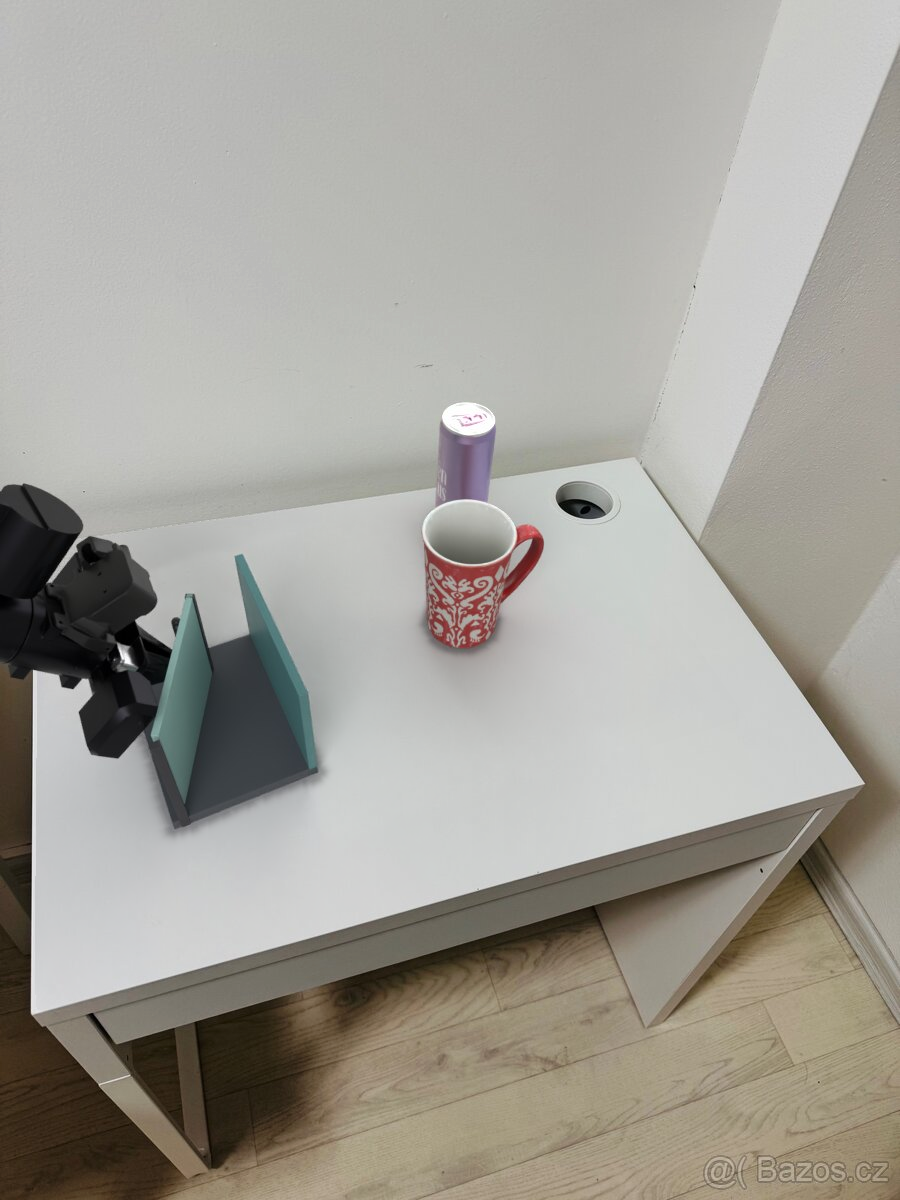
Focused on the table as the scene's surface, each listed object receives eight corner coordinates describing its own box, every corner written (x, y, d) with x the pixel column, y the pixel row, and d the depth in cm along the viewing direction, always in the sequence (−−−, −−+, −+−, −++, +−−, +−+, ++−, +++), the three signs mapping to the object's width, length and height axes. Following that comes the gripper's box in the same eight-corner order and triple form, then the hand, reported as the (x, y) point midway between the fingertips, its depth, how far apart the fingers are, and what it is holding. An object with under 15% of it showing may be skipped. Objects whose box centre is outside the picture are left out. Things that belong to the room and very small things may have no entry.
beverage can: (492, 533, 98) (506, 429, 86) (445, 545, 96) (452, 440, 85) (473, 501, 101) (483, 396, 90) (427, 511, 100) (431, 406, 88)
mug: (433, 665, 85) (440, 574, 74) (406, 601, 90) (409, 508, 80) (547, 637, 88) (568, 546, 78) (514, 576, 93) (530, 484, 83)
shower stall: (175, 830, 71) (142, 754, 62) (129, 682, 81) (95, 596, 72) (318, 773, 76) (308, 694, 66) (258, 638, 86) (242, 553, 76)
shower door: (158, 804, 72) (128, 735, 63) (189, 668, 81) (167, 592, 73) (186, 804, 72) (159, 735, 63) (214, 668, 81) (194, 593, 73)
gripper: (96, 644, 55) (273, 687, 67) (49, 474, 66) (209, 537, 78) (8, 750, 58) (192, 773, 70) (-24, 572, 69) (141, 618, 81)
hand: (184, 667), depth 75 cm, fingers closed
